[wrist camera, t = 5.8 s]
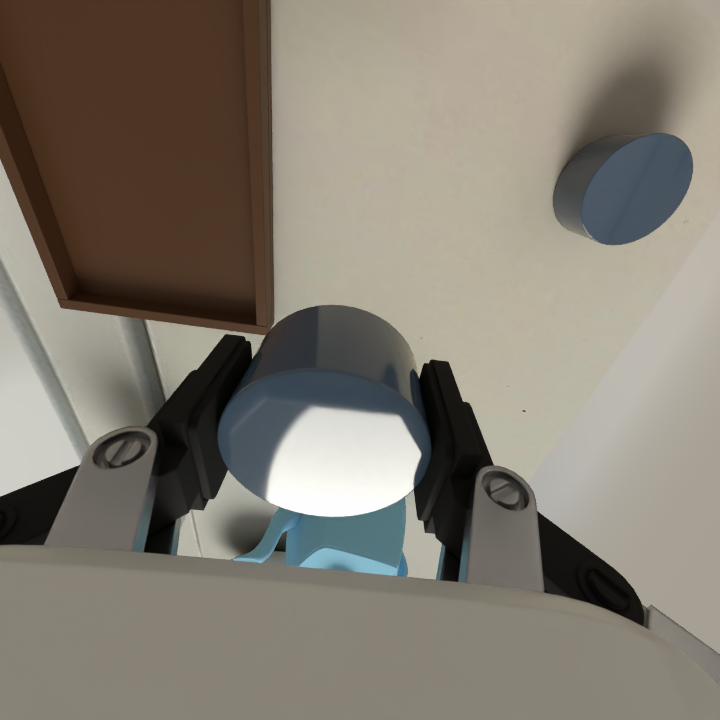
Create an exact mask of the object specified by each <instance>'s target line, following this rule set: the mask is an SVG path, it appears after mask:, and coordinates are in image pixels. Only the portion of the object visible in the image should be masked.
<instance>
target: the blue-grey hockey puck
mask: <svg viewBox="0 0 720 720" xmlns="http://www.w3.org/2000/svg"><path fill="white" fill-rule="evenodd" d="M692 173H693V160H692V155H691V152H690V150H689V148H688V146H687V145H686V144H685V143H684V142H683V141H682V140H681V139H679V138H678V137H676V136H674V135H670V134H665V133H652V134H634V135H616V136H609V137H605V138H602V139H599V140H597V141H595V142H593V143H591V144H589V145H588V146H586V147H585V148H584V149H582V150H581V151H580V152H579V153H578V154H576V155H575V156H574V157H573V158H572V160H571V161H570V162H569V163H568V164H567V166H566V167H565V169H564V170H563V172H562V173H561V175H560V177H559V179H558V182H557V184H556V187H555V191H554V197H553V207H554V212H555V215H556V218H557V220H558V221H559V223H560V224H561V225H562V226H563V227H564V228H566V229H568V230H570V231H572V232H574V233H577V234H579V235H582V236H584V237H587V238H589V239H591V240H594V241H596V242H599V243H601V244H605V245H622V244H627V243H630V242H634V241H636V240H638V239H641V238H643V237H645V236H647V235H648V234H650V233H651V232H653V231H654V230H656V229H657V228H658V227H660V226H661V225H662V224H663V223H664V222H665V221H666V220H667V219H668V218H669V217H670V216H671V215H672V214H673V213H674V212H675V210H676V209H677V208H678V206H679V205H680V203H681V202H682V200H683V198H684V197H685V195H686V193H687V190H688V188H689V185H690V182H691V179H692Z"/></svg>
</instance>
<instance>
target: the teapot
mask: <svg viewBox="0 0 720 720" xmlns="http://www.w3.org/2000/svg"><path fill="white" fill-rule="evenodd" d="M405 524H406V505H405V498H403V499H401V500H399V501H398V502H396V503H394V504H392V505H390V506H388V507H385V508H383V509H380V510H377V511H374V512H370V513H366V514H361V515H355V516H345V517H325V516H314V515H307V514H303V513H298V512H294V511H291V510H287V509H284V508H281V507H280V508H279V509H278V510H277V512H276V513H275V515H274V516H273V518H272V520H271V522H270V524H269V526H268V529H267V531H266V533H265V535H264V537H263V539H262V540H261V542H260V543H259V544H258V546H257V547H256V548H255V549H253V550H252V551H251V552H249V553H247V554H245V555H242V556H239V557H236V558H234V559H233V560H234V561H245V562H256V563H262V562H263V561H265V560H266V559H267V558H268V557H269V556H270V555H271V554H272V552H273V550H274V549H275V547H276V545H277V543H278V541H279V539H280V537H281V535H282V533H283V532H285V531H286V530H287V539H286V565H288V566H299V567H309V568H320V569H330V570H341V571H351V572H362V573H372V574H382V575H392V576H394V575H395V574H396V573H397V576H402V577H407V574H408V567H407V563H406V559H405V556H404V554H403V551H402V548H403V542H404V535H405Z"/></svg>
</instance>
